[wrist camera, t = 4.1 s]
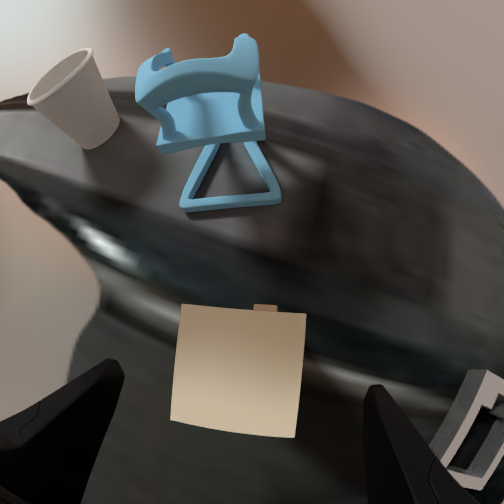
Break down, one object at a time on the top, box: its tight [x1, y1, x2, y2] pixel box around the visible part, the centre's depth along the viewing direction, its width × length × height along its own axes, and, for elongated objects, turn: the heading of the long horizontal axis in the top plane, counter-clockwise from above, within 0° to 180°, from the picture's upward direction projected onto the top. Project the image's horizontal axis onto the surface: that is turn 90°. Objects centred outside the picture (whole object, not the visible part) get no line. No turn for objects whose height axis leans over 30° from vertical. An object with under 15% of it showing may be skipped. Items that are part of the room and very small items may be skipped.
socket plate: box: [429, 370, 504, 490], centre depth 12 cm, size 8×7×2 cm
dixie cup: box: [27, 48, 120, 150], centre depth 23 cm, size 8×8×10 cm
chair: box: [135, 34, 281, 213], centre depth 17 cm, size 8×8×12 cm
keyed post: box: [170, 304, 306, 438], centre depth 12 cm, size 5×4×11 cm
